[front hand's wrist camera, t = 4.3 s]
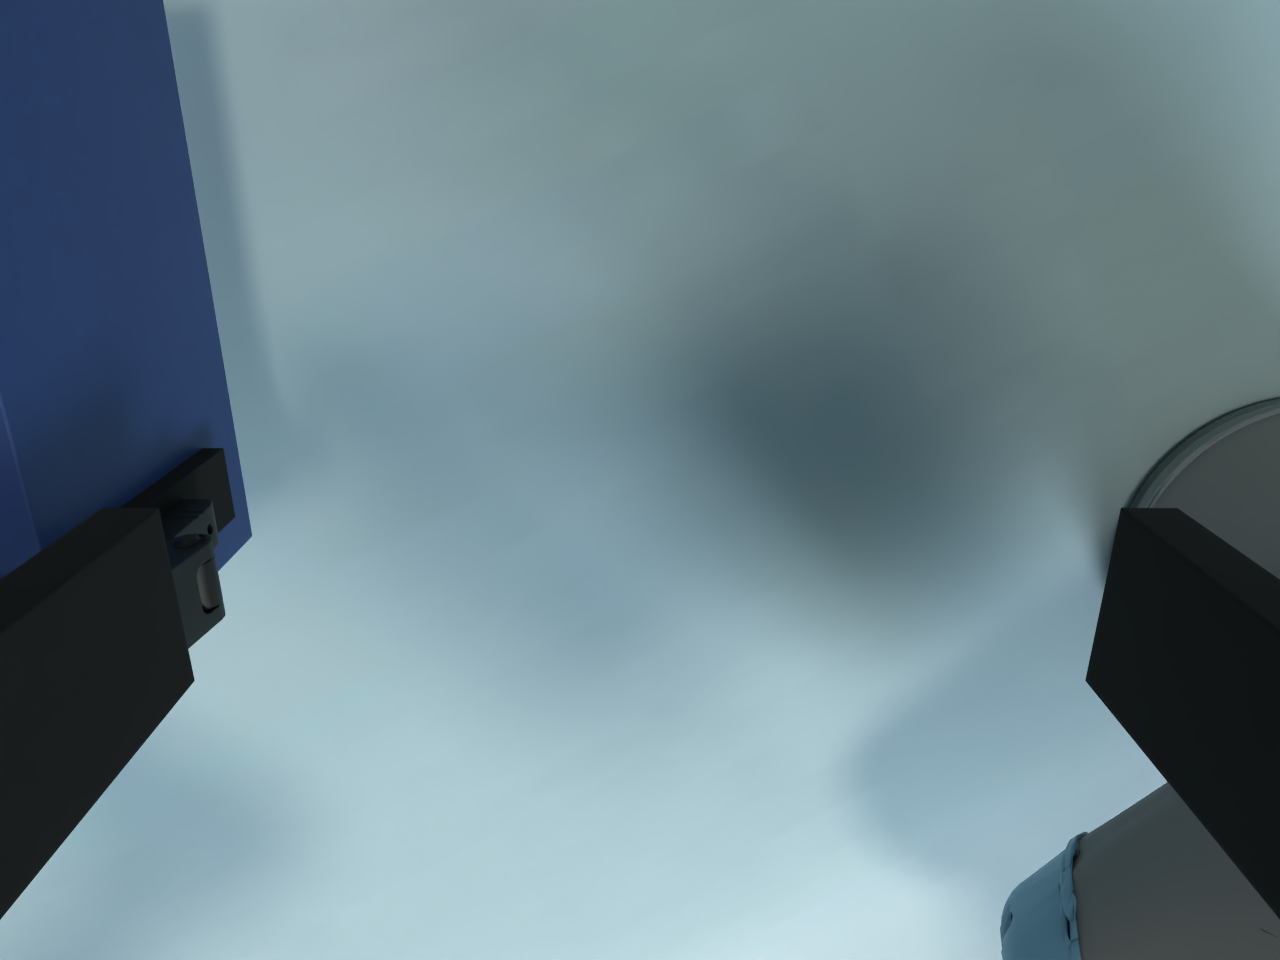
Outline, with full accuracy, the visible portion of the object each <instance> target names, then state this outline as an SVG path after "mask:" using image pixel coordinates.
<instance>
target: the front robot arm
mask: <svg viewBox="0 0 1280 960" xmlns="http://www.w3.org/2000/svg"><path fill="white" fill-rule="evenodd" d="M1085 681H1086V682H1087V683H1088V684H1089V686H1090V687H1091V688H1092V689H1093V690H1094V692H1095V693H1096V694H1097V695H1098V697H1099V698H1100V699H1101V700H1102V702H1103V703H1104V704H1105V705H1106V706H1107V708H1108V709H1109V710H1110V711H1111V713H1112V714H1113V715H1114V716H1115V718H1116V719H1117V720H1118V721H1119V722H1120V724H1121V725H1122V726H1123V727H1124V729H1125V730H1126V731H1127V732H1128V734H1129V735H1130V736H1131V737H1132V738H1133V740H1134V741H1135V742H1136V743H1137V745H1138V746H1139V747H1140V748H1141V749H1142V751H1143V752H1144V753H1145V754H1146V756H1147V757H1148V758H1149V759H1150V761H1151V762H1152V763H1153V764H1154V765H1155V767H1156V768H1157V769H1158V770H1159V772H1160V773H1161V774H1162V775H1163V777H1164V778H1165V779H1166V780H1167V781H1168V782H1167V783H1166V784H1164V785H1163V786H1161V787H1160V788H1158V789H1157V790H1155V791H1154V792H1152V793H1151V794H1149V795H1148V796H1146V797H1145V798H1143V799H1141V800H1140V801H1138V802H1137V803H1135V804H1134V805H1132V806H1131V807H1129V808H1128V809H1126V810H1125V811H1123V812H1122V813H1120V814H1119V815H1117V816H1116V817H1114V818H1113V819H1111V820H1109V821H1108V822H1106V823H1105V824H1103V825H1101V826H1100V827H1098V828H1097V829H1095V830H1093V831H1092V832H1090V833H1087V832H1083V833H1081V834H1078V835H1077V836H1075V837H1074V838H1073V839H1071V840H1070V841H1069V843H1068V845H1067V847H1066V849H1065V850H1064V851H1063V852H1061V853H1060V854H1059V855H1057V856H1056V857H1055V858H1053V859H1052V860H1051V861H1050V862H1048V863H1047V864H1046V865H1044V866H1043V867H1042V868H1040V869H1039V870H1038V871H1036V872H1035V873H1034V874H1033V875H1031V876H1030V877H1029V878H1027V879H1026V880H1024V881H1023V882H1022V883H1020V884H1019V885H1018V886H1017V887H1016V888H1015V889H1014V890H1013V892H1012V893H1011V894H1010V896H1009V898H1008V900H1007V901H1006V904H1005V906H1004V909H1003V913H1002V920H1001V927H1000V932H1001V941H1002V958H1003V960H1280V399H1275V400H1270V401H1266V402H1261V403H1258V404H1255V405H1252V406H1249V407H1246V408H1243V409H1241V410H1238V411H1236V412H1233V413H1231V414H1229V415H1227V416H1225V417H1223V418H1221V419H1219V420H1217V421H1215V422H1213V423H1211V424H1210V425H1208V426H1206V427H1205V428H1203V429H1201V430H1200V431H1198V432H1197V433H1195V434H1194V435H1193V436H1191V437H1190V438H1188V439H1187V440H1186V441H1184V442H1183V443H1182V444H1181V445H1180V446H1178V447H1177V448H1176V449H1175V450H1174V451H1172V452H1171V453H1170V454H1169V455H1168V456H1167V457H1166V458H1165V459H1164V460H1163V461H1162V462H1161V463H1160V464H1159V466H1158V467H1157V468H1156V469H1155V470H1154V471H1153V473H1152V474H1151V475H1150V476H1149V477H1148V479H1147V480H1146V481H1145V483H1144V484H1143V486H1142V487H1141V488H1140V490H1139V492H1138V493H1137V495H1136V497H1135V498H1134V500H1133V502H1132V503H1131V505H1130V508H1121V511H1120V516H1119V521H1118V526H1117V531H1116V536H1115V540H1114V545H1113V550H1112V555H1111V560H1110V565H1109V569H1108V574H1107V579H1106V584H1105V589H1104V594H1103V598H1102V603H1101V608H1100V613H1099V618H1098V623H1097V627H1096V632H1095V637H1094V642H1093V647H1092V652H1091V656H1090V661H1089V666H1088V671H1087V676H1086V680H1085ZM193 682H194V676H193V671H192V666H191V661H190V656H189V652H188V647H187V642H186V637H185V632H184V627H183V623H182V618H181V613H180V608H179V603H178V598H177V594H176V589H175V584H174V579H173V574H172V569H171V565H170V560H169V555H168V550H167V545H166V540H165V536H164V531H163V526H162V521H161V516H160V511H159V508H102V509H100V510H99V511H98V512H96V513H95V514H93V515H92V516H90V517H89V518H88V519H86V520H85V521H83V522H82V523H80V524H79V525H78V526H76V527H75V528H73V529H72V530H70V531H69V532H67V533H66V534H65V535H63V536H62V537H60V538H59V539H57V540H56V541H55V542H53V543H52V544H50V545H49V546H47V547H46V548H45V549H43V550H42V551H40V552H39V553H37V554H36V555H35V556H33V557H32V558H30V559H29V560H27V561H26V562H25V563H23V564H22V565H20V566H19V567H17V568H16V569H15V570H13V571H12V572H10V573H9V574H7V575H6V576H5V577H3V578H2V579H0V919H1V918H2V917H3V916H4V914H5V913H6V912H7V911H8V909H9V908H10V907H11V906H12V905H13V903H14V902H15V901H16V900H17V898H18V897H19V896H20V895H21V893H22V892H23V891H24V890H25V889H26V887H27V886H28V885H29V884H30V882H31V881H32V880H33V879H34V877H35V876H36V875H37V874H38V873H39V871H40V870H41V869H42V868H43V866H44V865H45V864H46V863H47V861H48V860H49V859H50V858H51V857H52V855H53V854H54V853H55V852H56V850H57V849H58V848H59V847H60V845H61V844H62V843H63V842H64V841H65V839H66V838H67V837H68V836H69V834H70V833H71V832H72V831H73V829H74V828H75V827H76V826H77V825H78V823H79V822H80V821H81V820H82V818H83V817H84V816H85V815H86V813H87V812H88V811H89V810H90V809H91V807H92V806H93V805H94V804H95V802H96V801H97V800H98V799H99V797H100V796H101V795H102V794H103V793H104V791H105V790H106V789H107V788H108V786H109V785H110V784H111V783H112V781H113V780H114V779H115V778H116V777H117V775H118V774H119V773H120V772H121V770H122V769H123V768H124V767H125V765H126V764H127V763H128V762H129V761H130V759H131V758H132V757H133V756H134V754H135V753H136V752H137V751H138V749H139V748H140V747H141V746H142V745H143V743H144V742H145V741H146V740H147V738H148V737H149V736H150V735H151V734H152V732H153V731H154V730H155V729H156V727H157V726H158V725H159V724H160V722H161V721H162V720H163V719H164V718H165V716H166V715H167V714H168V713H169V711H170V710H171V709H172V708H173V706H174V705H175V704H176V703H177V702H178V700H179V699H180V698H181V697H182V695H183V694H184V693H185V692H186V690H187V689H188V688H189V687H190V686H191V684H192V683H193Z"/></svg>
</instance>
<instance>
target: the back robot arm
mask: <svg viewBox="0 0 1280 960" xmlns="http://www.w3.org/2000/svg"><path fill="white" fill-rule="evenodd" d="M120 508H159V511H160V516H161V521H162V526H163V531H164V536H165V540H166V545H167V550H168V555H169V560H170V565H171V569H172V574H173V579H174V584H175V589H176V594H177V598H178V603H179V608H180V613H181V618H182V623H183V627H184V632H185V637H186V642H187V647H188V648H190V647H191V646H192V645H193V644H194V643H195V642H197V641H198V640H199V639H200V638H201V637H202V636H203V635H205V634H206V633H207V632H208V631H209V630H210V629H212V628H213V627H214V626H215V625H216V624H217V623H218V622H220V621H221V620H222V619H223V618H224V616H225V609H224V604H223V597H222V592H221V586H220V581H219V576H218V570H217V565H216V559H215V554H214V548H215V547H216V546H217V545H218V542H219V537H218V533H219V532H220V531H221V530H222V529H223V528H224V527H225V526H226V525H227V524H228V523H230V522H231V521H232V520H233V519H234V518H235V512H234V506H233V500H232V494H231V489H230V483H229V477H228V471H227V465H226V460H225V454H224V448H202V449H201V450H200V451H198V452H197V453H195V454H194V455H193V456H191V457H190V458H188V459H187V460H186V461H184V462H183V463H182V464H180V465H179V466H177V467H176V468H175V469H173V470H172V471H170V472H169V473H168V474H166V475H165V476H163V477H162V478H161V479H159V480H158V481H156V482H155V483H154V484H152V485H151V486H149V487H148V488H147V489H145V490H144V491H142V492H141V493H140V494H138V495H137V496H135V497H134V498H133V499H131V500H130V501H128V502H127V503H126V504H124V505H123V506H121V507H120Z"/></svg>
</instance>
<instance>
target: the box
mask: <svg viewBox="0 0 1280 960" xmlns="http://www.w3.org/2000/svg"><path fill="white" fill-rule="evenodd" d="M202 448H224V454H225V460H226V465H227V471H228V477H229V483H230V489H231V494H232V500H233V506H234V512H235V518H234V519H233V520H232V521H231V522H230V523H228V524H227V525H226V526H225V527H224V528H223V529H222V530H221V531H220V532H219V533H218V537H219V542H218V545H217V546H216V547H215V548H214V554H215V559H216V565H217V570H218V571H219V570H220V569H221V568H222V567H223V566H224V565H225V564H226V563H227V562H228V561H229V560H230V559H231V558H232V556H233V555H234V554H235V553H236V552H237V551H238V550H239V549H240V548H241V547H242V546H243V545H244V544H245V543H246V542H247V541H248V540H249V539H250V538H251V537H252V532H251V526H250V520H249V514H248V508H247V502H246V496H245V490H244V484H243V478H242V472H241V466H240V460H239V454H238V448H237V442H236V436H235V430H234V424H233V418H232V412H231V406H230V400H229V394H228V388H227V382H226V376H225V370H224V364H223V358H222V352H221V346H220V340H219V334H218V328H217V322H216V316H215V310H214V304H213V298H212V292H211V286H210V280H209V274H208V268H207V262H206V256H205V250H204V244H203V238H202V232H201V226H200V220H199V214H198V208H197V202H196V196H195V190H194V184H193V178H192V172H191V166H190V160H189V154H188V148H187V142H186V136H185V130H184V124H183V118H182V112H181V106H180V100H179V94H178V88H177V82H176V76H175V70H174V64H173V58H172V52H171V46H170V40H169V34H168V28H167V22H166V16H165V10H164V4H163V0H0V579H2V578H3V577H5V576H6V575H7V574H9V573H10V572H12V571H13V570H15V569H16V568H17V567H19V566H20V565H22V564H23V563H25V562H26V561H27V560H29V559H30V558H32V557H33V556H35V555H36V554H37V553H39V552H40V551H42V550H43V549H45V548H46V547H47V546H49V545H50V544H52V543H53V542H55V541H56V540H57V539H59V538H60V537H62V536H63V535H65V534H66V533H67V532H69V531H70V530H72V529H73V528H75V527H76V526H78V525H79V524H80V523H82V522H83V521H85V520H86V519H88V518H89V517H90V516H92V515H93V514H95V513H96V512H98V511H99V510H100V509H102V508H120V507H121V506H123V505H124V504H126V503H127V502H128V501H130V500H131V499H133V498H134V497H135V496H137V495H138V494H140V493H141V492H142V491H144V490H145V489H147V488H148V487H149V486H151V485H152V484H154V483H155V482H156V481H158V480H159V479H161V478H162V477H163V476H165V475H166V474H168V473H169V472H170V471H172V470H173V469H175V468H176V467H177V466H179V465H180V464H182V463H183V462H184V461H186V460H187V459H188V458H190V457H191V456H193V455H194V454H195V453H197V452H198V451H200V450H201V449H202Z"/></svg>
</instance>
